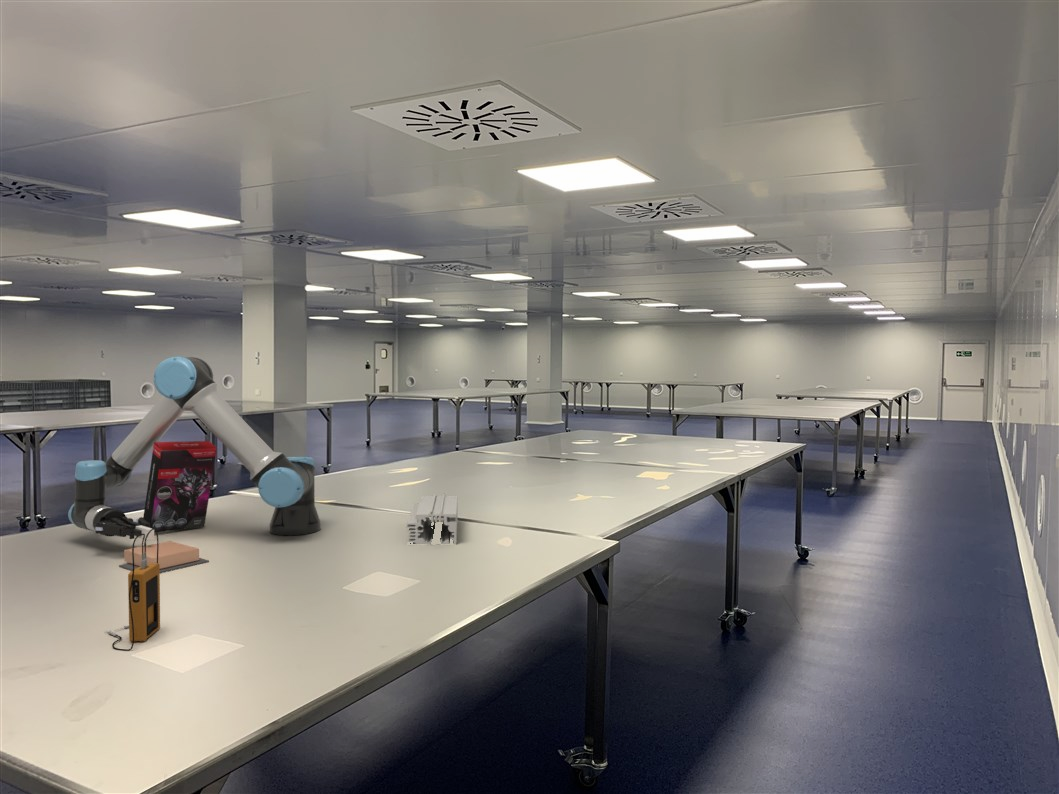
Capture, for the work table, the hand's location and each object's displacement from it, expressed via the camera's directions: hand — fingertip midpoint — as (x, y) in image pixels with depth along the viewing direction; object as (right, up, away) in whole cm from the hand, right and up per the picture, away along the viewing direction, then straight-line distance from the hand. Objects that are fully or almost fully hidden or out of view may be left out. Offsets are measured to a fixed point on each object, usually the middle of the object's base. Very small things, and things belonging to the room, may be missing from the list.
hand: (151, 534), depth 190 cm
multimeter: (+22, -10, -52) cm, 57 cm away
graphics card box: (-12, -4, +36) cm, 38 cm away
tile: (-2, -5, +3) cm, 6 cm away
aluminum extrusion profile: (+69, -7, +36) cm, 78 cm away
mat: (+5, -7, -2) cm, 9 cm away
